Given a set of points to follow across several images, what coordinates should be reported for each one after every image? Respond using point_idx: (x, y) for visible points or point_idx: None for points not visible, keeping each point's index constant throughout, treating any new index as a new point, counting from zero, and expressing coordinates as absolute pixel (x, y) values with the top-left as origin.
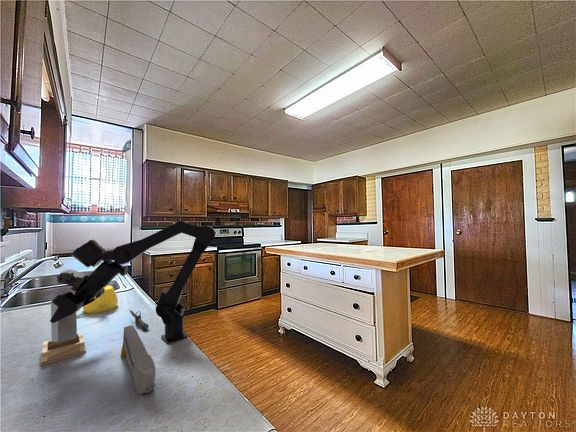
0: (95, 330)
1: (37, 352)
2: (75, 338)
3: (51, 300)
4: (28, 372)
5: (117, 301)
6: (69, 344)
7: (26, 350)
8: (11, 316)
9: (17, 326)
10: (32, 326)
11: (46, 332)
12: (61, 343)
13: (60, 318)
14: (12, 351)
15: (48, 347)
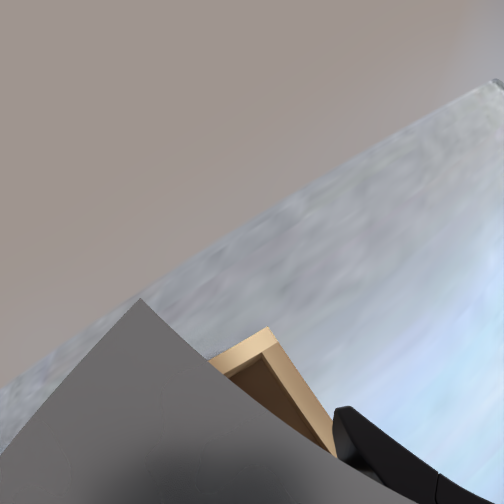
0: (466, 415)
1: (276, 309)
2: (324, 448)
3: (123, 317)
4: None
5: None
6: (306, 426)
7: (307, 249)
8: (485, 94)
9: (459, 122)
10: (470, 151)
11: (450, 214)
12: (291, 400)
13: None
14: (306, 206)
15: (262, 359)
